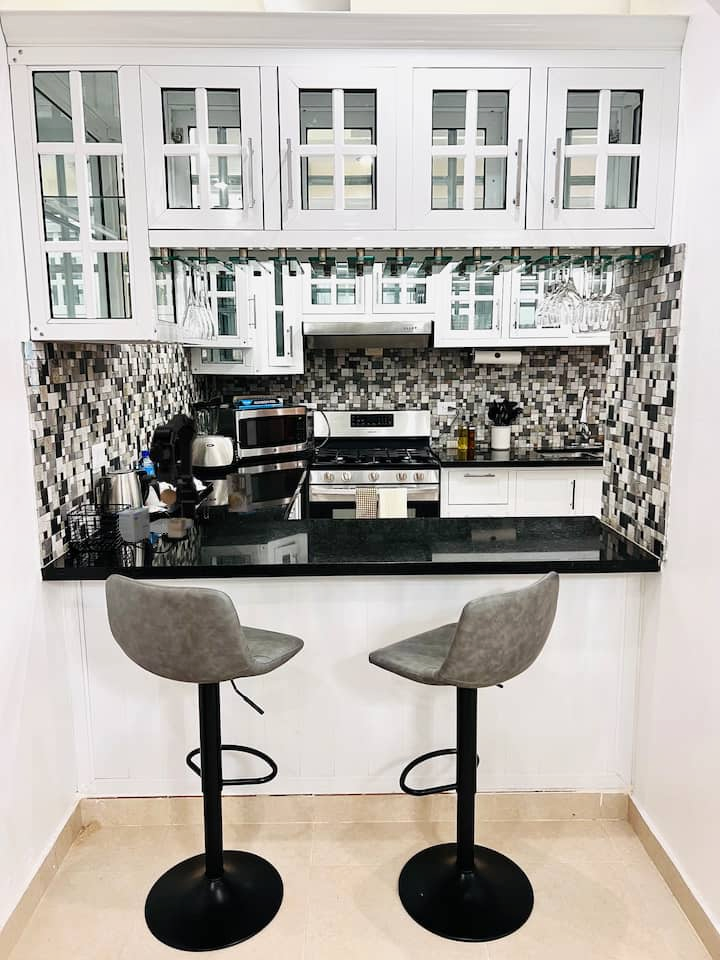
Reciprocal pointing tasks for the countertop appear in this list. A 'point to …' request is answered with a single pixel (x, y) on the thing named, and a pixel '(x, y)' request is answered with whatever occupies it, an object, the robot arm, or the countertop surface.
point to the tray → (165, 525)
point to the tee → (177, 527)
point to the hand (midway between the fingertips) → (168, 501)
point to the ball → (168, 496)
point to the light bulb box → (134, 524)
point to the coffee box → (239, 492)
